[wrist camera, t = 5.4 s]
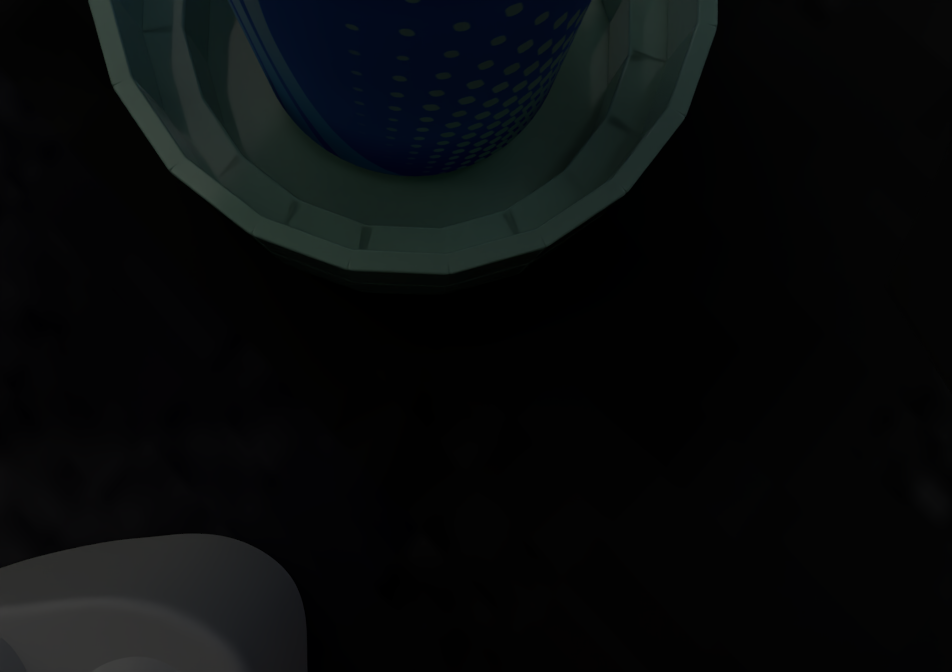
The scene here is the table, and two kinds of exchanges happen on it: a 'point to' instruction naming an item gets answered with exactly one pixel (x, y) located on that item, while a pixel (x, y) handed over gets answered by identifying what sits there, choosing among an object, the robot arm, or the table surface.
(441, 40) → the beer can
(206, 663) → the lumpy-topped squat cylinder
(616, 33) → the pale green round tub
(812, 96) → the table surface
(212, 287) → the table surface
